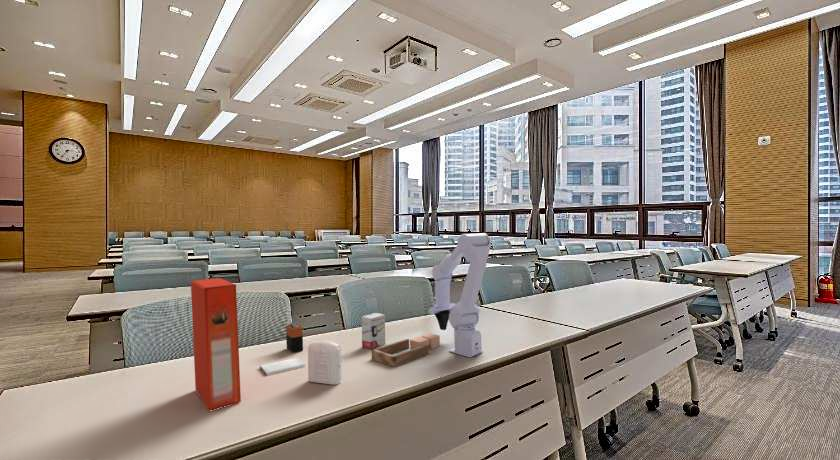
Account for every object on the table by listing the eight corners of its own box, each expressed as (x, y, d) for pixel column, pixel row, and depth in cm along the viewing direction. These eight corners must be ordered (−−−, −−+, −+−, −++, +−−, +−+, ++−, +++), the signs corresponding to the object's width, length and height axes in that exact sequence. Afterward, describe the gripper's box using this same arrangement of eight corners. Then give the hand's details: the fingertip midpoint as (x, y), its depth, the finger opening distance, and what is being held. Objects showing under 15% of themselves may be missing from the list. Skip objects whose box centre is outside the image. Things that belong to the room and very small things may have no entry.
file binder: (207, 412, 102) (203, 287, 101) (194, 390, 115) (190, 280, 114) (240, 402, 107) (237, 284, 106) (224, 383, 120) (221, 277, 119)
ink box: (370, 349, 149) (369, 318, 149) (361, 347, 152) (360, 316, 152) (386, 343, 156) (385, 313, 155) (376, 341, 159) (376, 312, 158)
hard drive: (266, 372, 125) (304, 363, 132) (259, 365, 132) (296, 356, 139) (266, 377, 125) (305, 368, 133) (259, 370, 132) (296, 361, 139)
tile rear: (439, 346, 152) (439, 335, 152) (431, 349, 148) (430, 338, 148) (430, 343, 156) (429, 333, 155) (421, 346, 152) (421, 336, 152)
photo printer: (343, 380, 120) (342, 340, 120) (336, 386, 116) (335, 344, 116) (314, 377, 123) (313, 337, 123) (306, 382, 119) (305, 341, 119)
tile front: (429, 349, 148) (429, 339, 148) (419, 353, 144) (419, 342, 144) (419, 347, 151) (419, 336, 151) (410, 350, 148) (410, 339, 148)
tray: (429, 353, 143) (428, 344, 143) (393, 366, 131) (393, 357, 131) (407, 347, 151) (406, 338, 151) (371, 358, 139) (371, 349, 139)
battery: (297, 346, 155) (297, 320, 154) (303, 350, 149) (302, 324, 149) (286, 348, 152) (285, 322, 152) (291, 353, 146) (291, 326, 146)
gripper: (446, 291, 165) (447, 324, 165) (422, 296, 155) (423, 331, 155) (460, 293, 160) (460, 327, 160) (436, 299, 150) (436, 334, 150)
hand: (443, 329), depth 157 cm, fingers closed
